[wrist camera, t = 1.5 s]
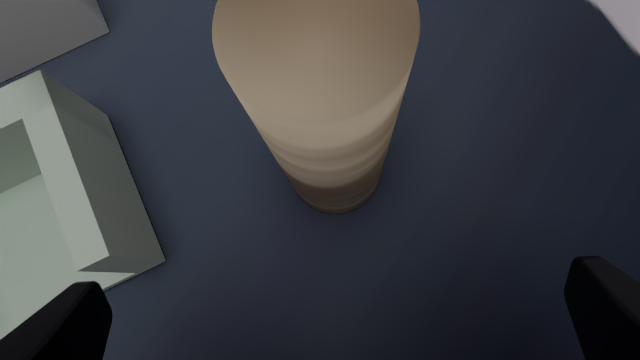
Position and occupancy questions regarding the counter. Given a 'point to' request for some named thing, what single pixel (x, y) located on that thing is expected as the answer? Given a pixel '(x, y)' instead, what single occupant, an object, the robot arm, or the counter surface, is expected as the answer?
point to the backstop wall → (44, 31)
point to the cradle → (63, 200)
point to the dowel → (321, 86)
